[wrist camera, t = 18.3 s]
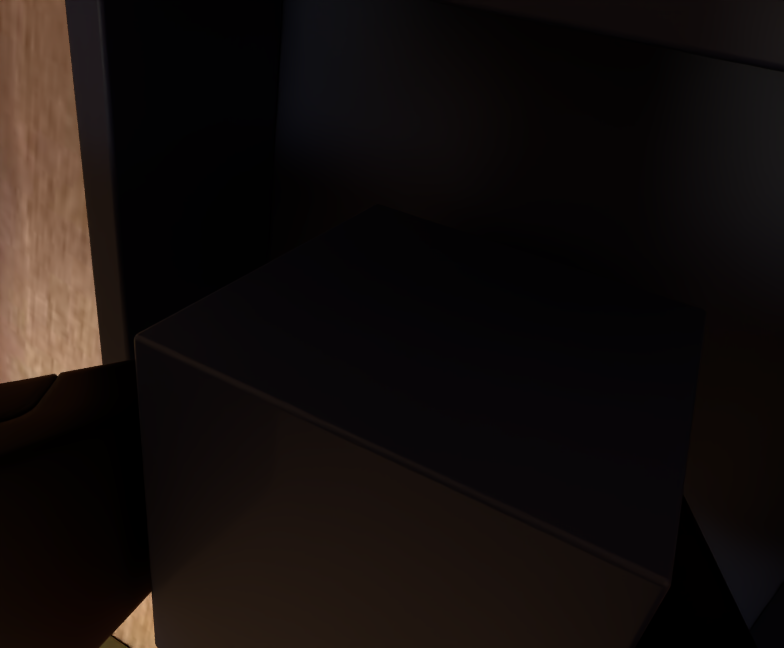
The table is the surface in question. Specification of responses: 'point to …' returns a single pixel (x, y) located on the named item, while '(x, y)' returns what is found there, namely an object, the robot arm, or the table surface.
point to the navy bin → (467, 177)
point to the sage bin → (112, 643)
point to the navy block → (415, 448)
